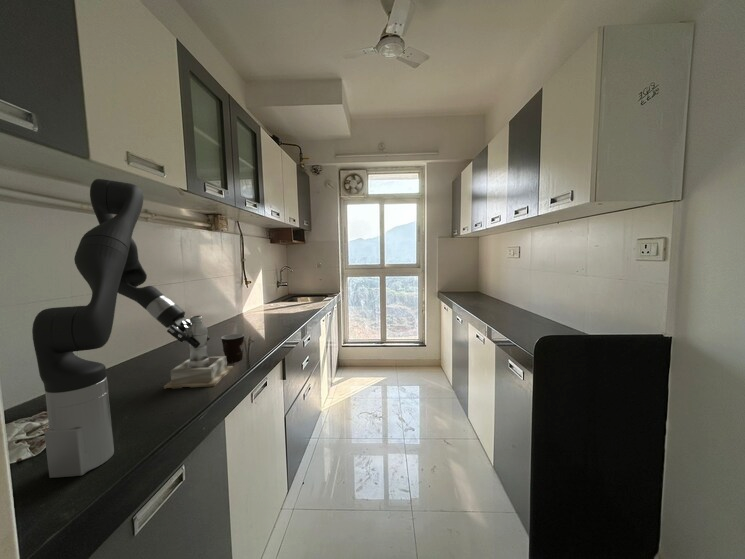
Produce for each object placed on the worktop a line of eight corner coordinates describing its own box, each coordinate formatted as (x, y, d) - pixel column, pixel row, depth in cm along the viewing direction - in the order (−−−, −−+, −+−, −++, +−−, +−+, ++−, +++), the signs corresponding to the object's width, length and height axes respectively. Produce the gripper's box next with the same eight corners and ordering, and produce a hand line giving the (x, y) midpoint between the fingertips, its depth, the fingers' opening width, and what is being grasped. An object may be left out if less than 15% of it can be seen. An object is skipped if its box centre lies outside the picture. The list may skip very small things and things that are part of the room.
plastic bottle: (186, 376, 104) (182, 319, 102) (192, 369, 110) (189, 315, 108) (207, 374, 105) (203, 317, 104) (212, 367, 112) (209, 314, 110)
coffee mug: (235, 355, 132) (234, 332, 132) (249, 357, 129) (248, 334, 128) (211, 364, 122) (209, 339, 121) (226, 367, 118) (224, 342, 117)
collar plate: (214, 386, 101) (213, 370, 100) (164, 388, 99) (162, 372, 99) (232, 368, 117) (231, 354, 116) (189, 370, 115) (188, 356, 115)
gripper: (160, 307, 98) (200, 341, 100) (184, 300, 112) (219, 330, 114) (144, 323, 98) (185, 357, 100) (170, 315, 112) (205, 345, 114)
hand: (203, 343), depth 107 cm, fingers closed on plastic bottle, 6 cm apart
